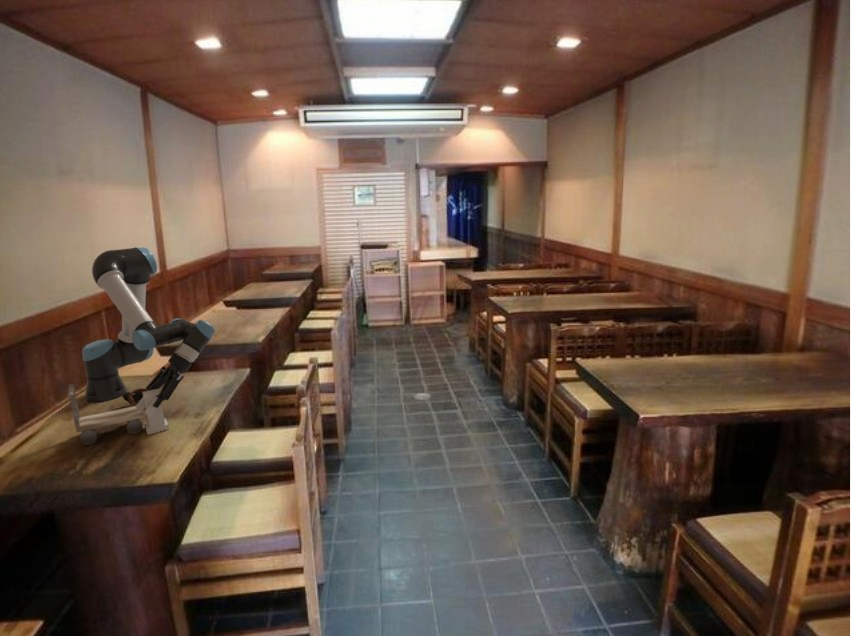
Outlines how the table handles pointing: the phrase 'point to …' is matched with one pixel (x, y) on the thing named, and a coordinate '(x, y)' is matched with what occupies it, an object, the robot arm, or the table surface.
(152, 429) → the grey pillar on base
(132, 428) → the trolley
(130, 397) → the broken clay pot
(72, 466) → the table surface
